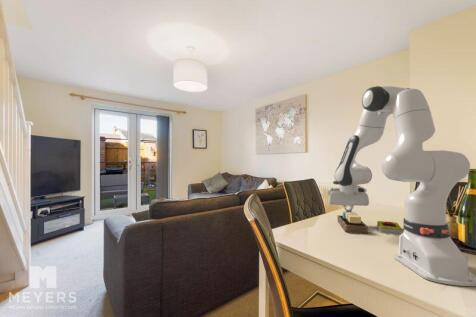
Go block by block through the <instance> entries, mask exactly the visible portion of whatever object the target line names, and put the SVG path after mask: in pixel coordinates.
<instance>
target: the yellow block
mask: <svg viewBox="0 0 476 317" xmlns="http://www.w3.org/2000/svg"><path fill="white" fill-rule="evenodd" d="M348 221H349V222H350V223H353V224H356V223H361V221H362V216H360V215H359V214H357V215H348Z"/></svg>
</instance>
